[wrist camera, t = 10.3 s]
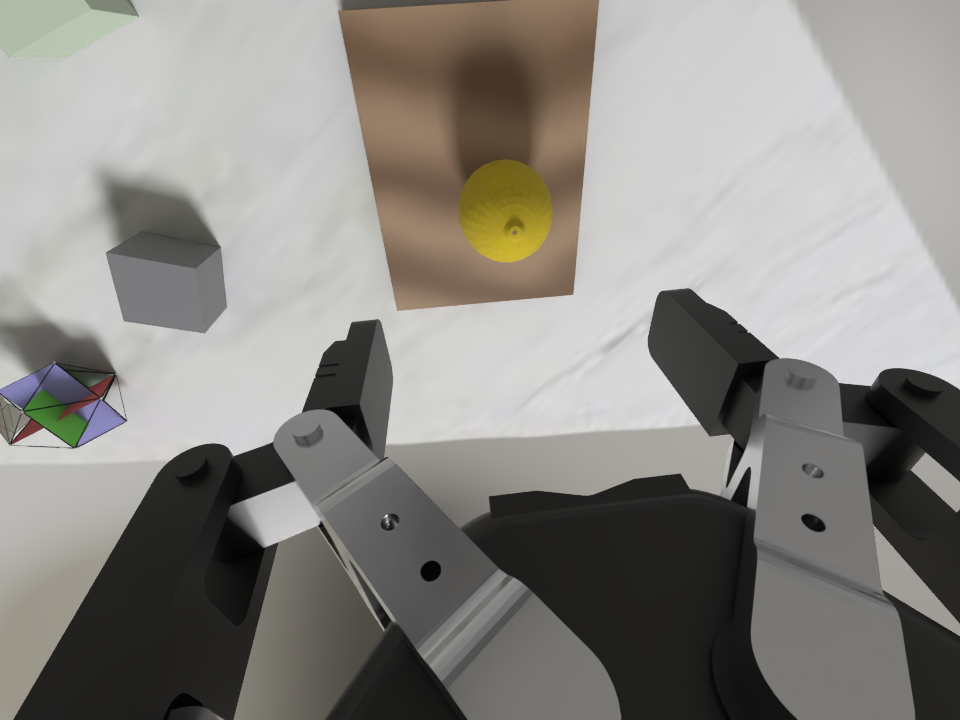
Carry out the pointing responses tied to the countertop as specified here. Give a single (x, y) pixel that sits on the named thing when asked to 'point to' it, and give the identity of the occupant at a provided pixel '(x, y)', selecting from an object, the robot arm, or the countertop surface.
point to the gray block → (168, 282)
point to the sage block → (58, 25)
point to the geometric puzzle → (57, 407)
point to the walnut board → (471, 134)
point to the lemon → (505, 210)
